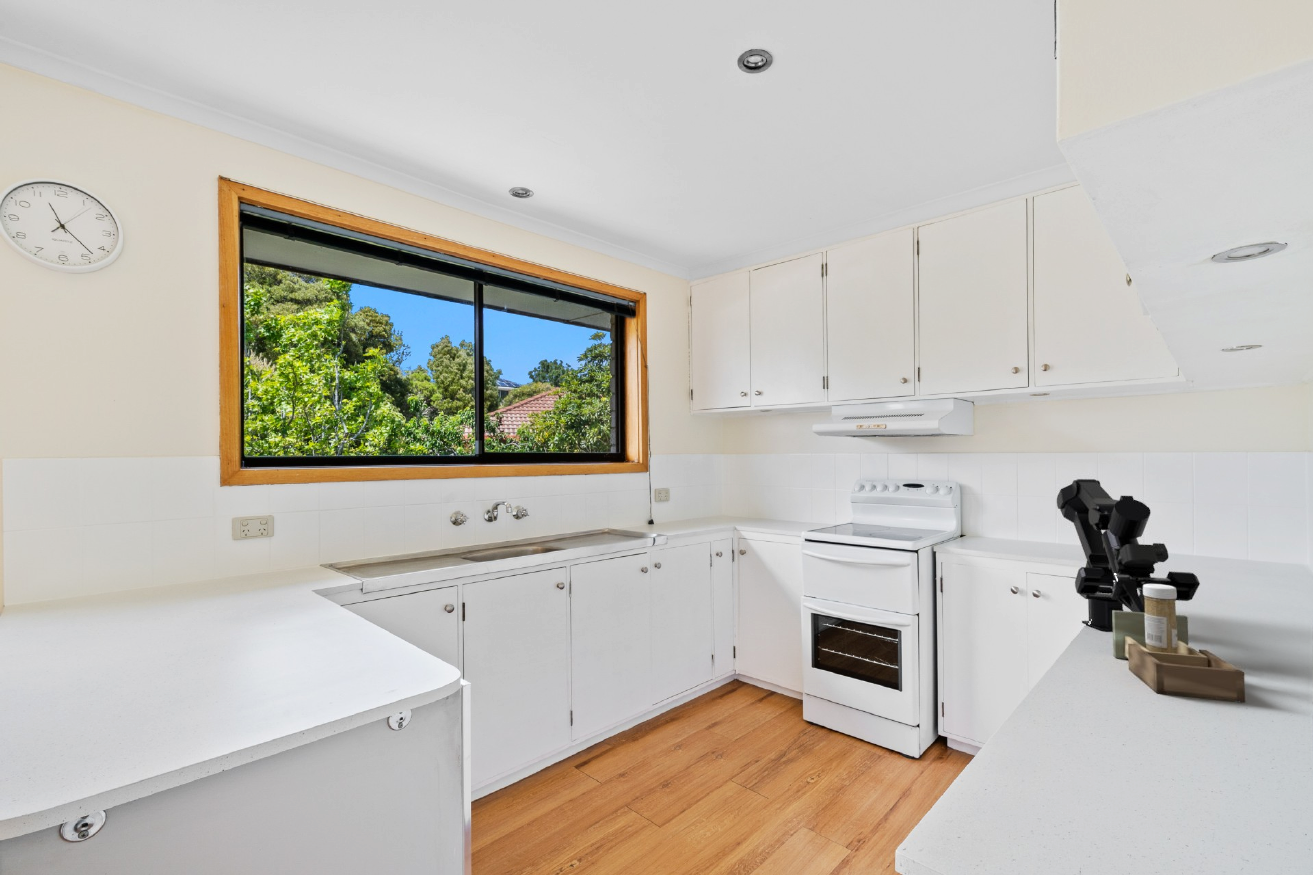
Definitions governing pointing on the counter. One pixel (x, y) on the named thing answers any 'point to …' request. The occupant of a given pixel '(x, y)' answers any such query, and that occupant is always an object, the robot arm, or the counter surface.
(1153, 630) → the spice jar
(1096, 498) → the robot arm
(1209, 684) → the walnut caddy
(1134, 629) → the drawer
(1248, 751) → the counter surface
